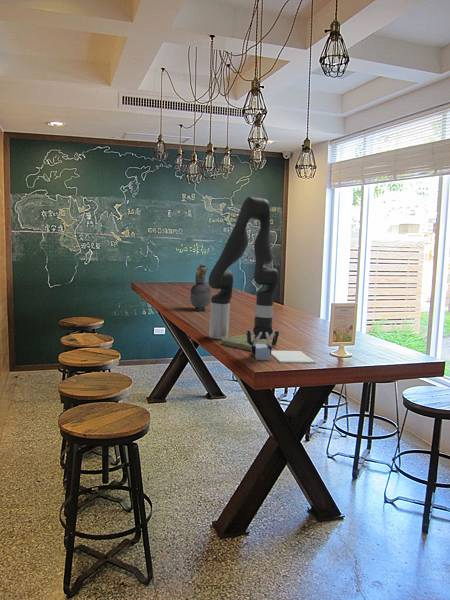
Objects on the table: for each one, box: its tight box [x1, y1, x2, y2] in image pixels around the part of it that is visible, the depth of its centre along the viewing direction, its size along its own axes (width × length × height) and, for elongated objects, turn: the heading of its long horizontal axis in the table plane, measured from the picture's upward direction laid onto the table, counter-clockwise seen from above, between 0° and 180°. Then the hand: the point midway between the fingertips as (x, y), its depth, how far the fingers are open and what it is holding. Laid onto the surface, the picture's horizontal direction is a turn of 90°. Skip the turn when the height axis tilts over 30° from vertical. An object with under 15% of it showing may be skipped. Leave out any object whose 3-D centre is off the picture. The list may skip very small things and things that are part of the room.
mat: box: [270, 350, 316, 364], centre depth 226 cm, size 19×15×1 cm
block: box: [253, 344, 271, 361], centre depth 225 cm, size 12×6×4 cm, turn 5°
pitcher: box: [189, 263, 212, 312], centre depth 343 cm, size 11×19×30 cm, turn 20°
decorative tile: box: [220, 334, 277, 352], centre depth 245 cm, size 19×20×4 cm
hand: (261, 354), depth 225 cm, fingers closed on block, 5 cm apart
